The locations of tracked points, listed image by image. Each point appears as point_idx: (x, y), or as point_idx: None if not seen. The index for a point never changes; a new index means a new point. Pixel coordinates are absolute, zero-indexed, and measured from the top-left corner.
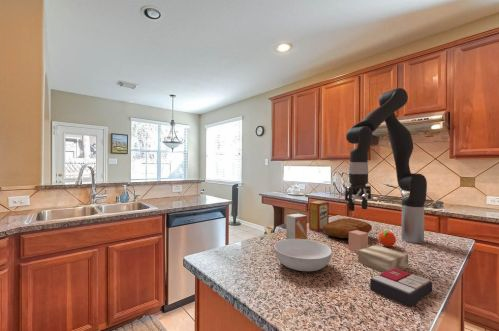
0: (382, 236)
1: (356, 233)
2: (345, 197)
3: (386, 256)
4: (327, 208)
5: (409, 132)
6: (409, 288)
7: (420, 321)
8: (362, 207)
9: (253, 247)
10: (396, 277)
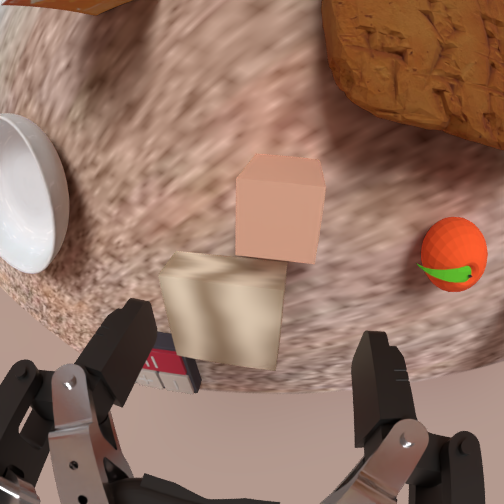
0: (434, 256)
1: (244, 229)
2: (6, 386)
3: (198, 344)
4: None
5: None
6: None
7: None
8: (366, 345)
9: (8, 21)
10: None
